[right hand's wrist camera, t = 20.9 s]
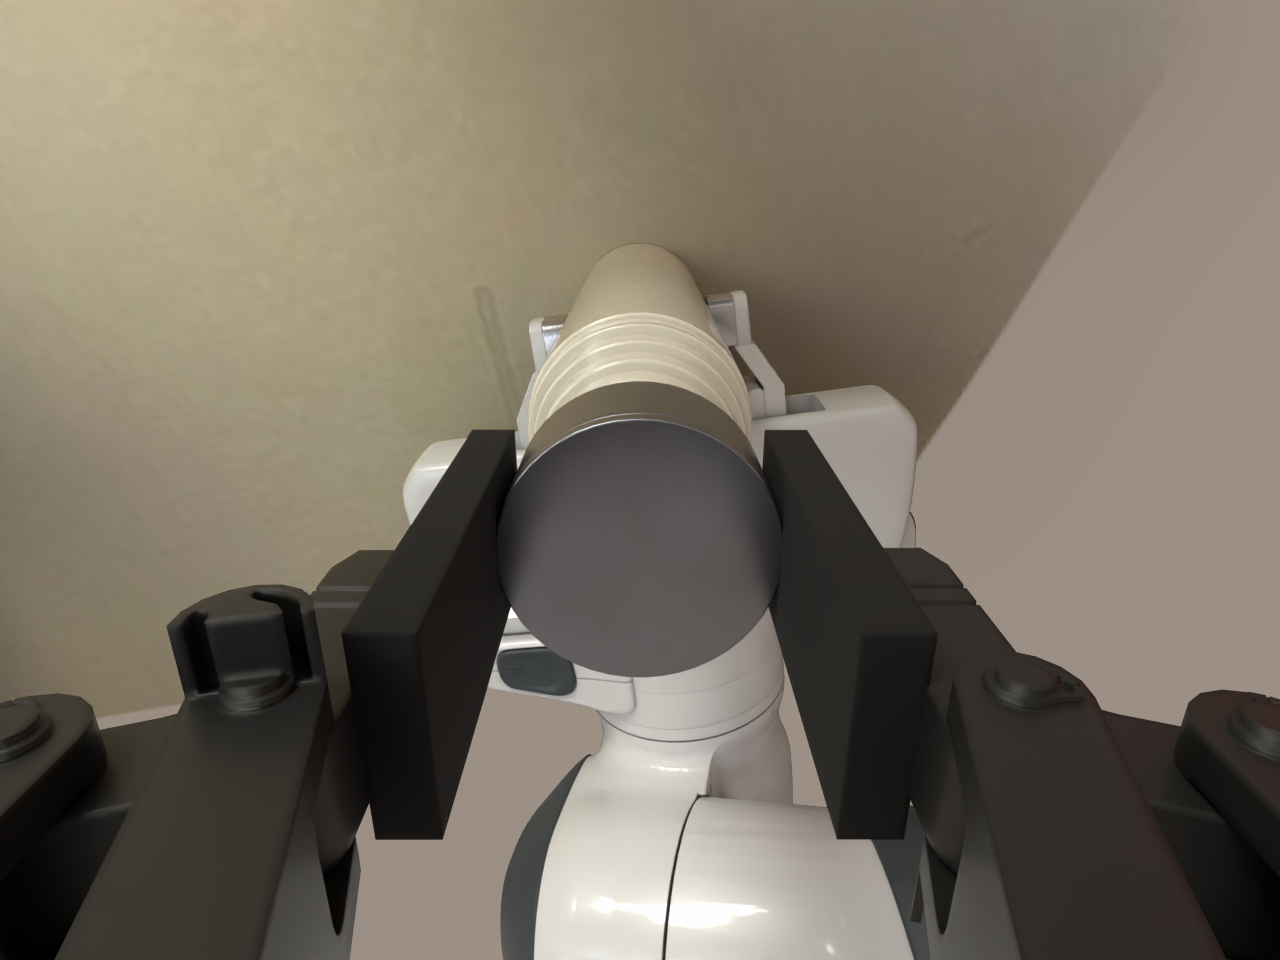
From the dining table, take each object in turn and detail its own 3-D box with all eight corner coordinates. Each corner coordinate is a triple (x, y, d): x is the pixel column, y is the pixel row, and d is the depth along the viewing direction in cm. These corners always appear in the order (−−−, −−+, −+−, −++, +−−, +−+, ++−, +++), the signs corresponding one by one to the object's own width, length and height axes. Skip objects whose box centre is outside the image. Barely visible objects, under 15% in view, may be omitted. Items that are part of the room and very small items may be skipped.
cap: (727, 347, 13) (745, 380, 11) (788, 573, 15) (813, 639, 13) (478, 423, 14) (449, 467, 12) (564, 633, 15) (551, 706, 13)
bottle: (615, 381, 36) (576, 719, 14) (559, 278, 35) (412, 476, 12) (718, 329, 35) (852, 601, 13) (666, 221, 34) (717, 319, 11)
